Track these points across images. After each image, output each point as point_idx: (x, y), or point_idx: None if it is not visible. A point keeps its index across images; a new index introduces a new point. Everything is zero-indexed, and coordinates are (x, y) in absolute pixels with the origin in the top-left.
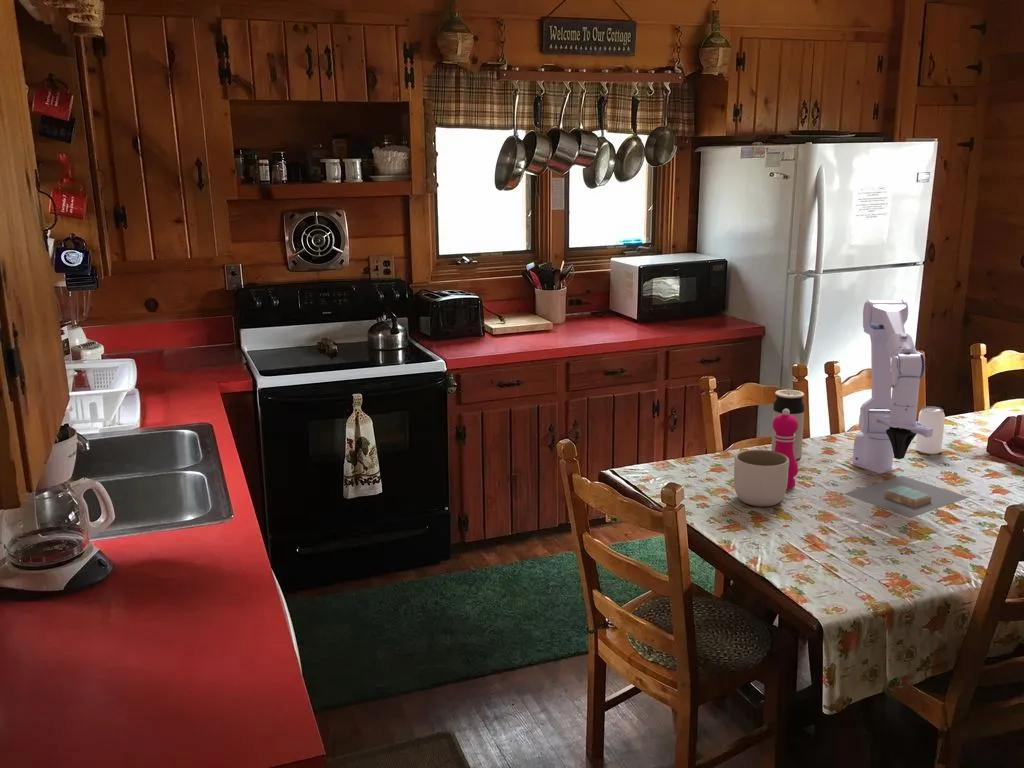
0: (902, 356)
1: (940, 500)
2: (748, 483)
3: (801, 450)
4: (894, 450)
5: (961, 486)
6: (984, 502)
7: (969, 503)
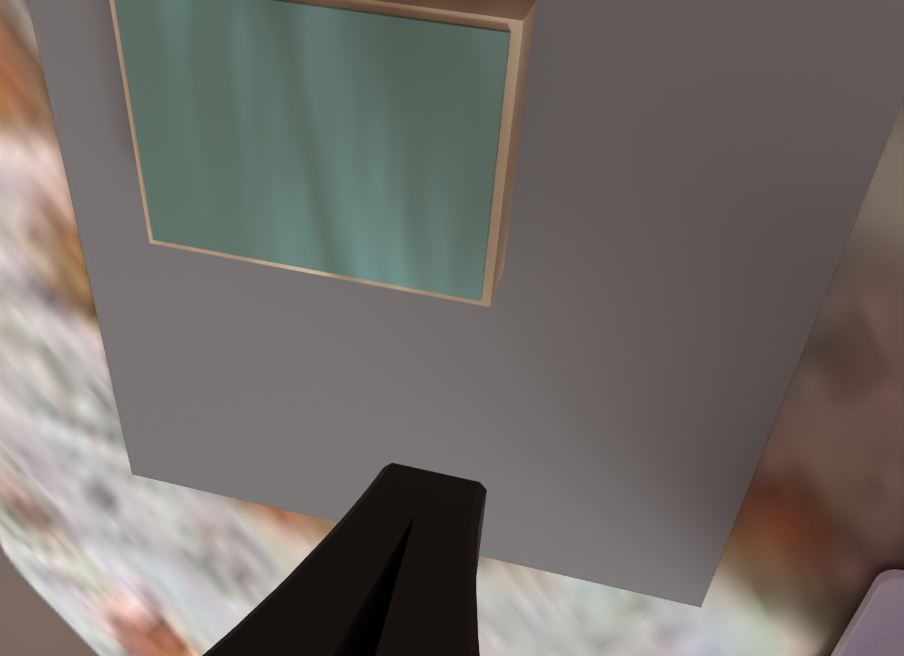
0: None
1: (173, 300)
2: None
3: None
4: (425, 582)
5: None
6: (60, 467)
7: (83, 401)
